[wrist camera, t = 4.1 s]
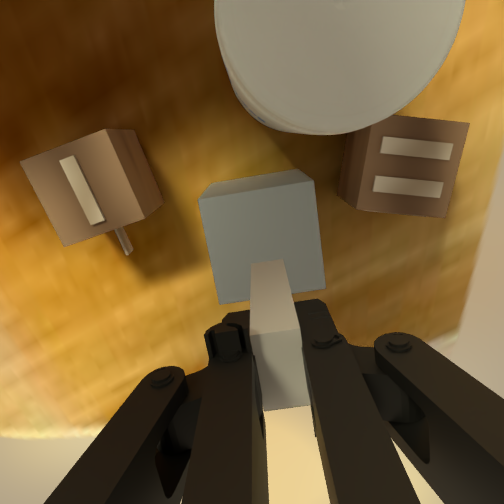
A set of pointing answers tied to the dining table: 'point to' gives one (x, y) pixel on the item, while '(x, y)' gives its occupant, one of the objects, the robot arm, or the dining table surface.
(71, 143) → the marked cube left
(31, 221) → the dining table surface
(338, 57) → the supplement tub
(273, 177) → the plain block
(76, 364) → the dining table surface
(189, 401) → the robot arm
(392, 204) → the marked cube right
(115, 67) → the dining table surface
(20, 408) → the dining table surface
